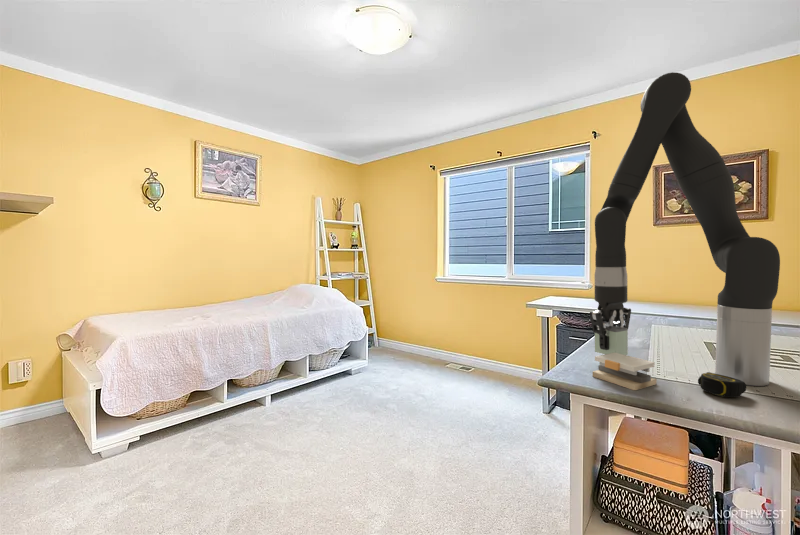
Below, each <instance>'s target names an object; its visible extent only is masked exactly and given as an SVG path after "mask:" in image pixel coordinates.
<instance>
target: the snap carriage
mask: <svg viewBox="0 0 800 535" xmlns="http://www.w3.org/2000/svg"><path fill="white" fill-rule="evenodd" d="M594 361H596V362H599V365H602V366H605V367H607V368H610V369H614V370H617V371H618V370H619V371H622V372H625V373H629V374H632V375H637V372H640V371H642V372H645V373H649V372H650V369H651V368H655V363H656V362H654V361H650V360H646V359H643V358H638V357H634V356H630V355H623V354H619V353H610V354H601V355H595V356H594ZM599 365H598V366H599Z"/></svg>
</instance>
